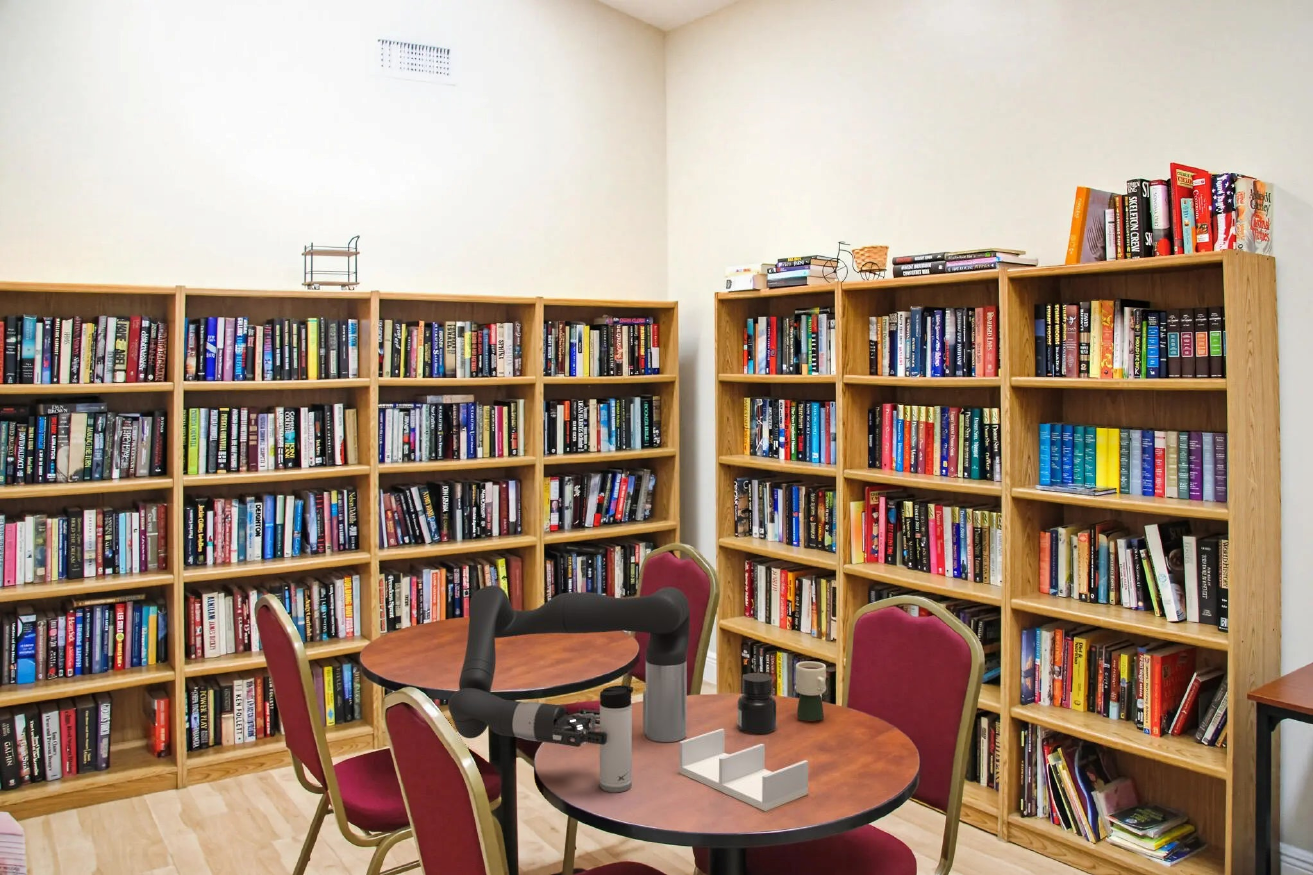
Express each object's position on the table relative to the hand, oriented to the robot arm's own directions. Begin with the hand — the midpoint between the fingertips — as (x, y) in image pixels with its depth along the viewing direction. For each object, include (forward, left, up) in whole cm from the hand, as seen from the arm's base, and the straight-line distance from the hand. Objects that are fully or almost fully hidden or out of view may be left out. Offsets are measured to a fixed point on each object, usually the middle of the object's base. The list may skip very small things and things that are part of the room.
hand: (614, 731), depth 200 cm
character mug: (-1, +59, -11) cm, 60 cm away
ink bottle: (-5, +45, -11) cm, 47 cm away
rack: (+15, +20, -11) cm, 28 cm away
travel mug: (0, 0, -11) cm, 11 cm away
